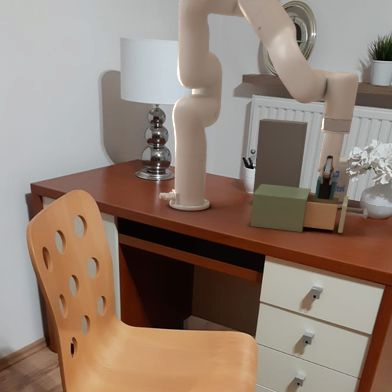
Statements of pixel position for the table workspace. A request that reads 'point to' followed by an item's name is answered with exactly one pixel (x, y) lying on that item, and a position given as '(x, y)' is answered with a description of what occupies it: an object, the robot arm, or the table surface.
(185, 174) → the robot arm
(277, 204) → the cabinet
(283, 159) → the tall taupe upright panel
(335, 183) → the block
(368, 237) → the table surface
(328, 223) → the drawer
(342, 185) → the supplement tub
